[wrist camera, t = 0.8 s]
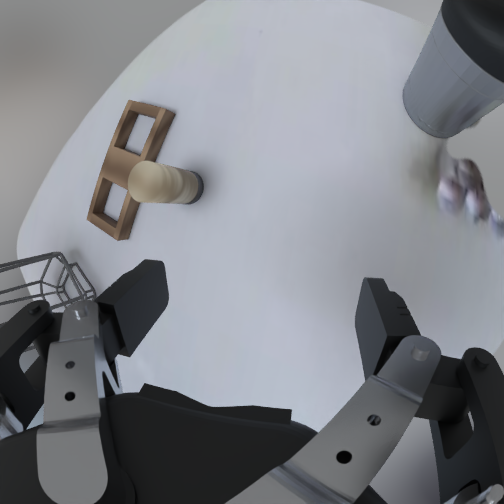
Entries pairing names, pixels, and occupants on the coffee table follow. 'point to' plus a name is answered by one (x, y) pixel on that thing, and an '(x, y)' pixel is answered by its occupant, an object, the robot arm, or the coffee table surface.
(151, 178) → the banded peg
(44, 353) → the robot arm
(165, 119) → the socket block
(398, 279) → the coffee table surface
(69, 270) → the geometric lantern
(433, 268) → the coffee table surface
